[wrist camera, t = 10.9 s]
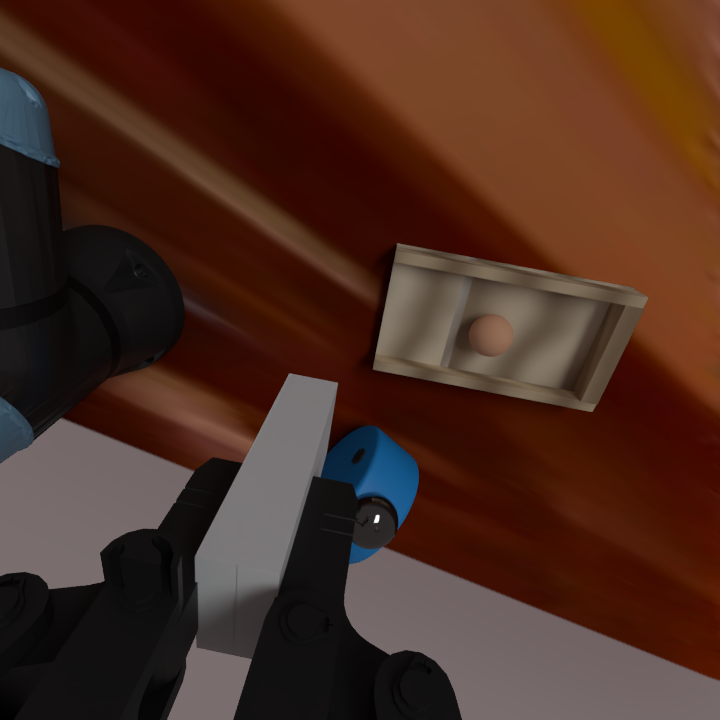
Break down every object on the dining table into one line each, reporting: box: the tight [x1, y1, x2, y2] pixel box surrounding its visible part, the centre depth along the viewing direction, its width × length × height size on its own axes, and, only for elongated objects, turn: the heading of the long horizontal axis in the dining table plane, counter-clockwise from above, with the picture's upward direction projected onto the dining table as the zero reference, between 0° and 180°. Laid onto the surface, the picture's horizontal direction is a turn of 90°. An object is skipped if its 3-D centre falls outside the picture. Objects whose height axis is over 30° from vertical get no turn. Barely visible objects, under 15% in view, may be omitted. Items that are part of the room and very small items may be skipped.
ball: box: [469, 314, 513, 357], centre depth 42 cm, size 4×4×4 cm
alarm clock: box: [320, 426, 419, 564], centre depth 46 cm, size 13×6×15 cm, turn 137°
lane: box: [373, 243, 648, 412], centre depth 42 cm, size 22×12×3 cm, turn 81°
